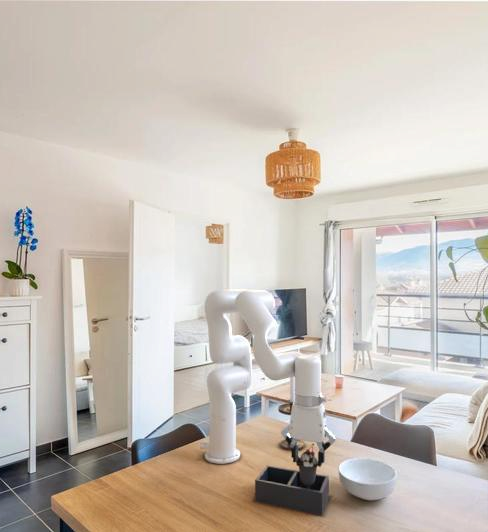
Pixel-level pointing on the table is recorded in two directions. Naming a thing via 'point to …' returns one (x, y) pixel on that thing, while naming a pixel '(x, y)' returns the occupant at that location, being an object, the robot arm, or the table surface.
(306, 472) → the sundae
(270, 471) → the caddy
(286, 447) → the candlestick
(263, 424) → the table surface
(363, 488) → the cereal bowl
